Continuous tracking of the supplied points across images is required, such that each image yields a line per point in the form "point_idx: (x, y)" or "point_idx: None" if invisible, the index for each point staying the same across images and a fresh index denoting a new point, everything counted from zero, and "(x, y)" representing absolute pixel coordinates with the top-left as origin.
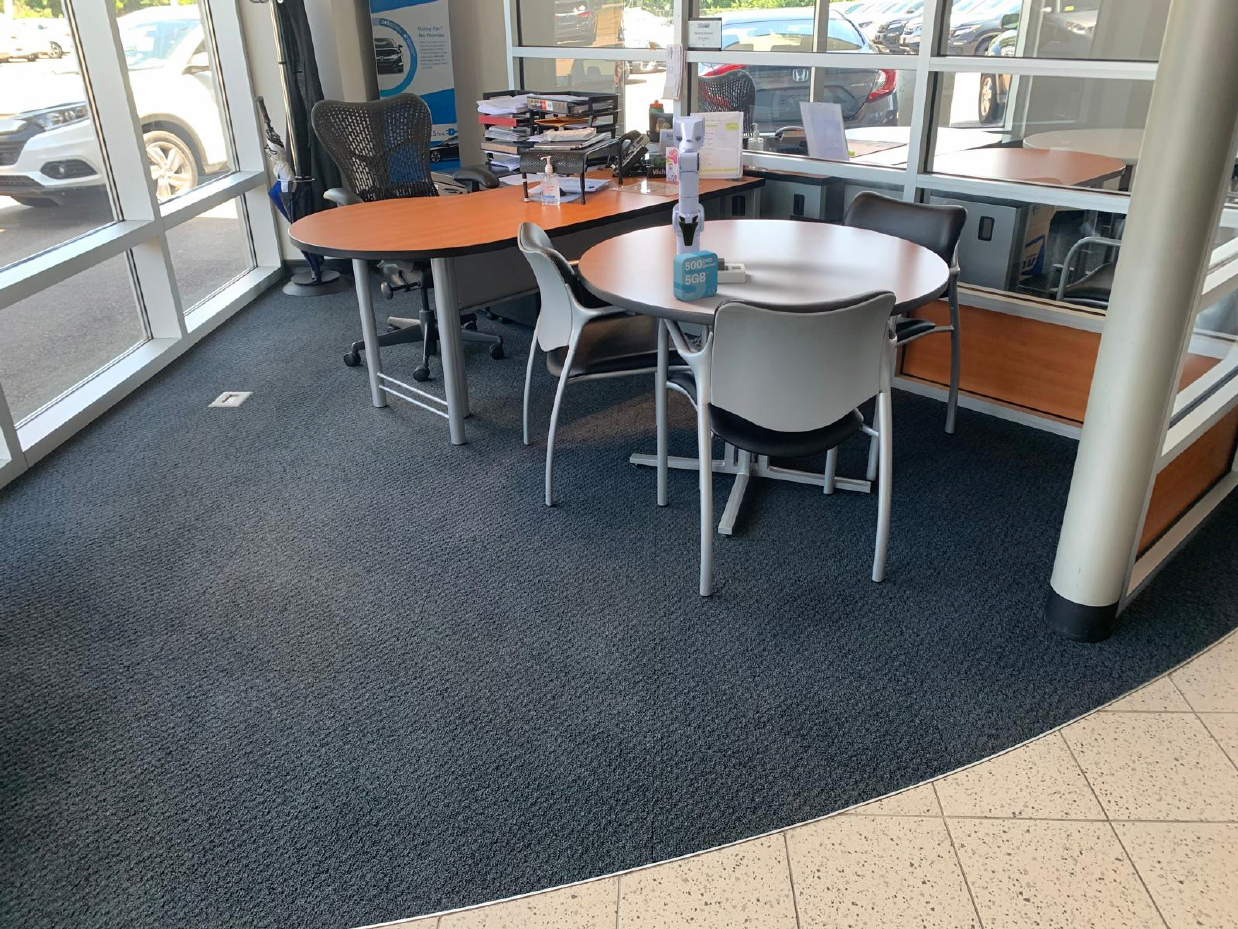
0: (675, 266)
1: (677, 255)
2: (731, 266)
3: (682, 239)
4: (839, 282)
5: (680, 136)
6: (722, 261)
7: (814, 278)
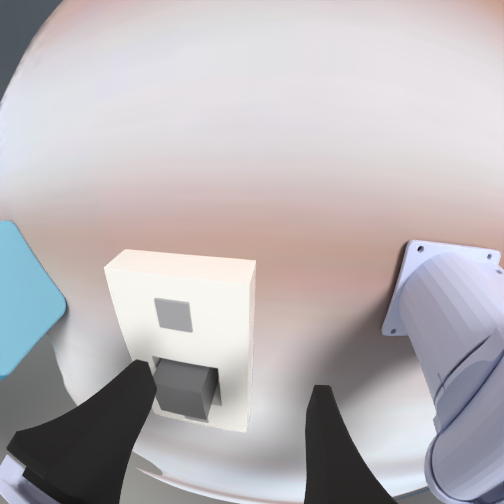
0: None
1: None
2: (211, 409)
3: (457, 342)
4: (191, 467)
5: None
6: (161, 406)
7: (211, 461)
